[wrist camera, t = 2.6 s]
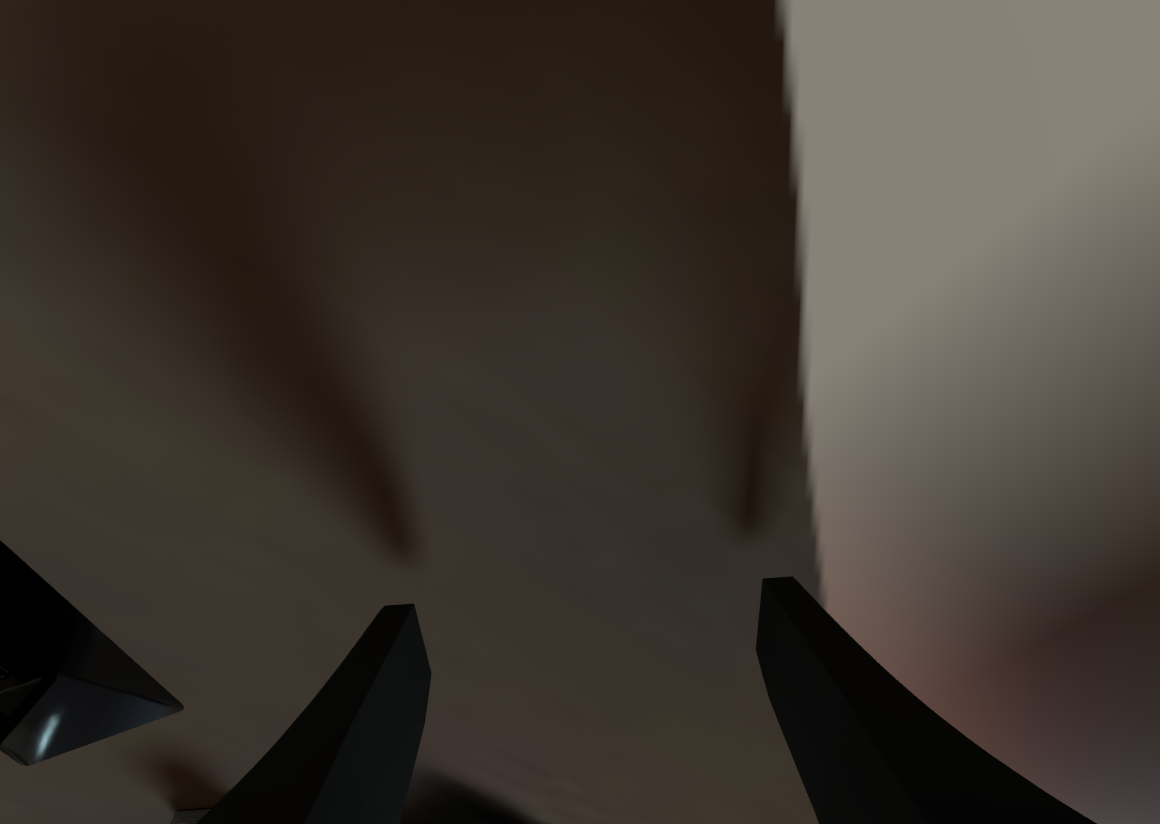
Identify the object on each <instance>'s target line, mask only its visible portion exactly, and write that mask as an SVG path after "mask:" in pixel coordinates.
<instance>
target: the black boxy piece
mask: <svg viewBox="0 0 1160 824" xmlns="http://www.w3.org/2000/svg"><path fill="white" fill-rule="evenodd" d="M183 709H184V706H183V705H182V704H181V703H180V702H179V701H178V700H177V699H176V698H175V697H174V696H172V695H171V694H170V693H169V692H168V691H167V690H166V689H165V688H164V687H163V686H161V685H160V684H159V683H158V682H157V681H156V680H155V679H154V678H153V677H151V676H150V675H149V674H148V673H147V672H146V671H145V670H144V669H143V668H141V667H140V666H139V665H138V664H137V663H136V662H135V661H134V660H133V659H131V658H130V657H129V656H128V655H127V654H126V653H125V652H124V651H123V650H121V649H120V648H119V647H118V646H117V645H116V644H115V643H114V642H113V641H111V640H110V639H109V638H108V637H107V636H106V635H105V634H104V633H103V632H101V631H100V630H99V629H98V628H97V627H96V626H95V625H94V624H93V623H91V622H90V621H89V620H88V619H87V618H86V617H85V616H84V615H83V614H81V613H80V612H79V611H78V610H77V609H76V608H75V607H74V606H73V605H71V604H70V603H69V602H68V601H67V600H66V599H65V598H64V597H63V596H61V595H60V594H59V593H58V592H57V591H56V590H55V589H54V588H53V587H51V586H50V585H49V584H48V583H47V582H46V581H45V580H44V579H43V578H41V577H40V576H39V575H38V574H37V573H36V572H35V571H34V570H33V569H31V568H30V567H29V566H28V565H27V564H26V563H25V562H24V561H23V560H21V559H20V558H19V557H18V556H17V555H16V554H15V553H14V552H13V551H12V550H10V549H9V548H8V547H7V546H6V545H5V544H4V543H3V542H2V541H0V751H2V752H3V753H5V754H6V755H8V756H9V757H11V758H12V759H13V760H15V761H16V762H18V763H19V764H21V765H26V766H28V765H32V764H35V763H37V762H40V761H43V760H46V759H49V758H51V757H54V756H57V755H60V754H63V753H65V752H68V751H71V750H74V749H76V748H79V747H82V746H85V745H88V744H90V743H93V742H96V741H99V740H102V739H104V738H107V737H110V736H113V735H115V734H118V733H121V732H124V731H127V730H129V729H132V728H135V727H138V726H141V725H143V724H146V723H149V722H152V721H154V720H157V719H160V718H163V717H166V716H168V715H171V714H174V713H177V712H179V711H182V710H183Z"/></svg>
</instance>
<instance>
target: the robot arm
mask: <svg viewBox="0 0 1160 824" xmlns="http://www.w3.org/2000/svg"><path fill="white" fill-rule="evenodd" d="M756 652H757V656H758V660H759V663H760V667H761V671H762V675H763V678H764V682H765V685H766V689H767V692H768V696H769V699H770V702H771V704H772V707H773V709H774V712H775V714H776V717H777V719H778V722H779V724H780V727H781V730H782V732H783V735H784V737H785V740H786V742H787V744H788V747H789V749H790V752H791V754H792V757H793V759H794V762H795V764H796V767H797V769H798V772H799V774H800V777H801V779H802V782H803V784H804V786H805V789H806V791H807V794H808V796H809V799H810V801H811V804H812V806H813V809H814V811H815V814H816V817H817V819H818V822H819V824H1096V823H1095V822H1093V821H1092V820H1090V819H1088V818H1087V817H1085V816H1083V815H1082V814H1080V813H1078V812H1077V811H1075V810H1073V809H1072V808H1070V807H1068V806H1067V805H1065V804H1064V803H1062V802H1060V801H1059V800H1057V799H1056V798H1054V797H1053V796H1051V795H1050V794H1048V793H1046V792H1045V791H1043V790H1042V789H1040V788H1039V787H1037V786H1036V785H1034V784H1033V783H1031V782H1030V781H1028V780H1027V779H1025V778H1024V777H1023V776H1021V775H1020V774H1018V773H1016V772H1015V771H1013V770H1012V769H1011V768H1009V767H1008V766H1006V765H1005V764H1003V763H1002V762H1001V761H999V760H998V759H996V758H995V757H993V756H992V755H990V754H989V753H988V752H986V751H985V750H983V749H982V748H981V747H979V746H978V745H977V744H975V743H974V742H972V741H971V740H970V739H968V738H967V737H966V736H964V735H963V734H962V733H961V732H959V731H958V730H957V729H955V728H954V727H953V726H952V725H950V724H949V723H948V722H946V721H945V720H944V719H942V718H941V717H940V716H939V715H938V714H936V713H935V712H934V711H933V710H931V709H930V708H929V707H928V706H926V705H925V704H924V703H923V702H922V701H921V700H919V699H918V698H917V697H916V696H915V695H913V694H912V693H911V692H910V691H909V690H908V689H907V688H906V687H904V686H903V685H902V684H901V683H900V682H899V681H898V680H896V679H895V678H894V677H893V676H892V675H891V674H890V673H889V672H887V670H885V669H884V668H883V667H882V666H881V665H880V664H879V663H878V662H877V661H876V660H875V659H874V658H873V657H872V656H871V655H870V654H868V653H867V652H866V651H865V650H864V649H863V648H862V647H861V646H860V645H859V644H858V643H857V642H856V641H855V640H854V639H853V638H852V637H851V636H850V635H849V634H848V633H847V632H846V631H845V630H844V629H843V628H841V626H840V625H839V624H838V623H837V622H836V621H835V620H834V619H833V618H832V617H831V616H830V615H829V614H828V613H827V612H826V611H825V610H824V609H823V608H822V607H821V606H820V604H819V603H818V602H817V601H816V600H815V599H814V598H813V597H812V596H811V595H810V594H809V593H808V592H807V591H806V590H805V589H804V588H803V586H802V585H801V584H800V583H799V582H798V581H797V580H796V579H795V578H793V577H778V578H764V579H763V581H762V591H761V602H760V612H759V622H758V633H757V643H756ZM430 680H431V670H430V666H429V662H428V658H427V654H426V650H425V646H424V642H423V638H422V634H421V630H420V626H419V622H418V618H417V614H416V610H415V606H414V604H402V605H388V606H384V607H383V608H382V609H381V610H380V611H379V613H378V614H377V615H376V617H375V618H374V620H373V621H372V622H371V624H370V625H369V626H368V628H367V629H366V631H365V632H364V633H363V635H362V636H361V638H360V639H359V640H358V642H357V643H356V644H355V646H354V647H353V648H352V650H351V651H350V652H349V654H348V655H347V656H346V658H345V659H344V660H343V662H342V663H341V664H340V666H339V667H338V668H337V669H336V671H335V672H334V673H333V675H332V676H331V677H330V678H329V680H328V681H327V682H326V684H325V685H324V686H323V687H322V689H321V690H320V691H319V693H318V694H317V695H316V696H315V697H314V699H313V700H312V701H311V702H310V704H309V705H308V706H307V707H306V708H305V709H304V711H303V712H302V713H301V714H300V715H299V717H298V718H297V719H296V720H295V721H294V722H293V724H292V725H291V726H290V727H289V728H288V729H287V731H286V732H285V733H284V734H283V735H282V736H281V738H280V739H279V740H278V741H277V742H276V743H275V744H274V745H273V746H272V748H271V749H270V750H269V751H268V752H267V753H266V754H265V755H264V756H263V757H262V758H261V760H260V761H259V762H258V763H257V764H256V765H255V766H254V767H253V768H252V769H251V770H250V771H249V772H248V773H247V774H246V775H245V776H244V777H243V778H242V779H241V780H240V781H239V782H238V783H237V784H236V785H235V786H234V787H233V788H232V789H231V790H230V791H229V792H228V793H227V794H226V795H225V796H224V797H223V798H222V799H221V800H220V801H219V802H218V803H217V804H216V805H215V806H214V807H213V808H212V809H211V810H210V811H209V812H207V813H206V814H205V815H204V816H203V817H202V818H201V819H200V820H199V821H198V822H197V823H196V824H399V823H400V819H401V815H402V811H403V807H404V803H405V799H406V795H407V792H408V788H409V784H410V780H411V776H412V772H413V768H414V764H415V760H416V756H417V752H418V748H419V744H420V740H421V736H422V732H423V728H424V724H425V717H426V710H427V703H428V696H429V688H430Z"/></svg>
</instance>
